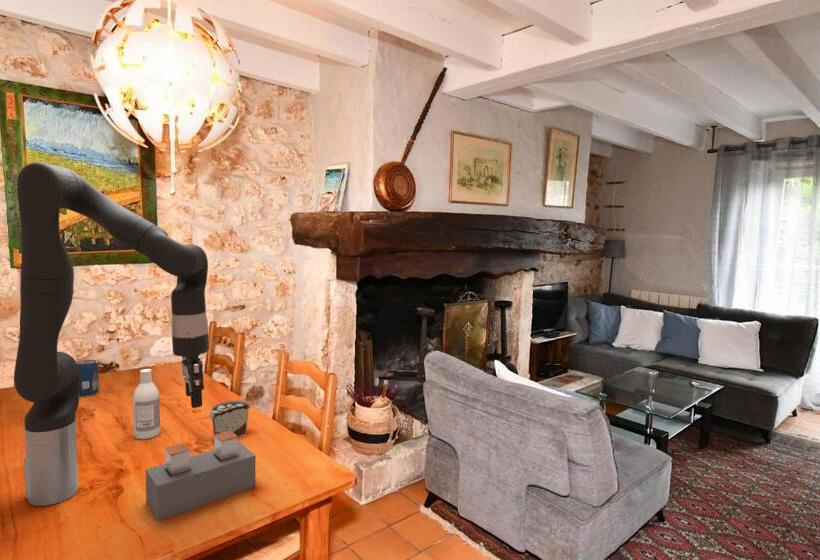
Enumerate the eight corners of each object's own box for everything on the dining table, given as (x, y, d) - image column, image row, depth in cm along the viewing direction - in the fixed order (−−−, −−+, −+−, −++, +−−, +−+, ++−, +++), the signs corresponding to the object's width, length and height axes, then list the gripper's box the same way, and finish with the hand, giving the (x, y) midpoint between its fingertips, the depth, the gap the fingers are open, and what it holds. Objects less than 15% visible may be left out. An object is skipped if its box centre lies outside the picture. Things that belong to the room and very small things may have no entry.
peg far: (220, 470, 112) (220, 440, 111) (214, 464, 115) (214, 434, 114) (237, 465, 115) (237, 436, 114) (230, 459, 118) (230, 430, 117)
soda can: (78, 391, 173) (77, 359, 172) (100, 389, 176) (99, 358, 175) (74, 398, 167) (72, 365, 166) (97, 395, 170) (96, 363, 169)
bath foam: (163, 435, 141) (162, 370, 139) (138, 442, 136) (136, 375, 134) (155, 427, 146) (154, 365, 144) (130, 434, 141) (128, 369, 139)
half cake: (239, 427, 149) (239, 396, 148) (250, 433, 145) (250, 402, 144) (201, 439, 140) (201, 407, 139) (212, 446, 136) (212, 413, 135)
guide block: (157, 521, 101) (157, 486, 100) (146, 502, 108) (145, 469, 107) (255, 486, 116) (255, 455, 115) (240, 471, 123) (240, 442, 122)
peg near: (171, 486, 105) (170, 454, 104) (165, 479, 108) (165, 447, 107) (190, 480, 108) (189, 449, 107) (184, 473, 110) (184, 442, 110)
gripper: (168, 328, 111) (172, 395, 113) (175, 340, 99) (180, 414, 101) (202, 325, 115) (206, 389, 117) (213, 336, 103) (217, 407, 105)
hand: (194, 401), depth 109 cm, fingers open, 8 cm apart
